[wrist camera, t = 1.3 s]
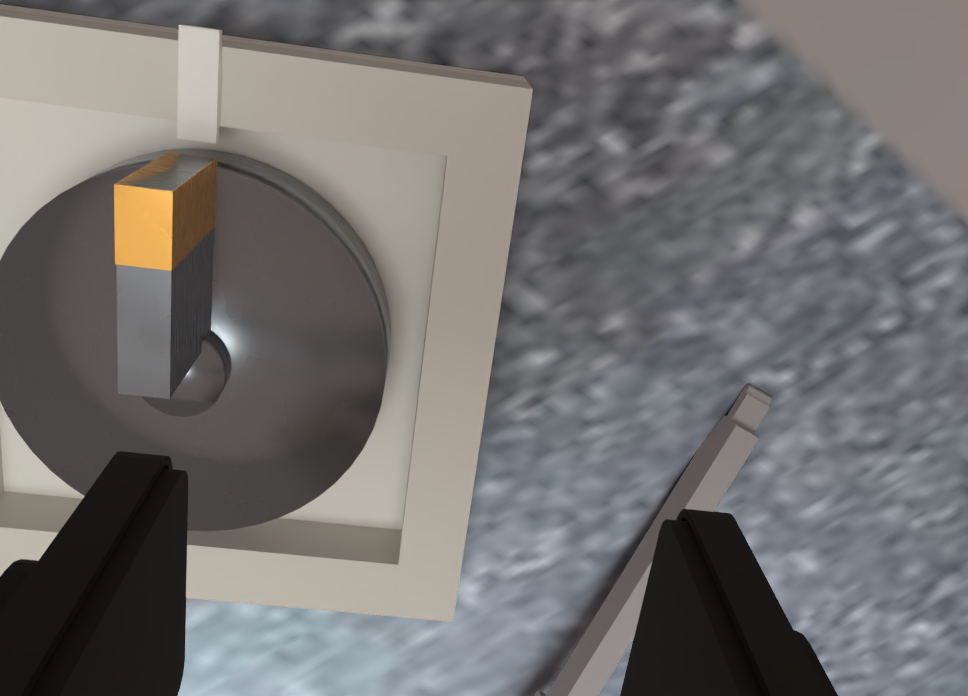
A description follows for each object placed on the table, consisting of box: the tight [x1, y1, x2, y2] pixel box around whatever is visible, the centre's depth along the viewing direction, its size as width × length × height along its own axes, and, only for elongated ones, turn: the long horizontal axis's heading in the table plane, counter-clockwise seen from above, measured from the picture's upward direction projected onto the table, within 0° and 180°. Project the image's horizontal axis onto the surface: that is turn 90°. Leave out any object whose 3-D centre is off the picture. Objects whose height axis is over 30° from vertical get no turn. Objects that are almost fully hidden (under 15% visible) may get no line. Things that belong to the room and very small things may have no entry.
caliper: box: [534, 384, 772, 696], centre depth 32 cm, size 20×1×6 cm, turn 150°
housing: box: [0, 4, 533, 622], centre depth 28 cm, size 17×17×4 cm
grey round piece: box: [0, 149, 391, 531], centre depth 25 cm, size 11×11×6 cm
